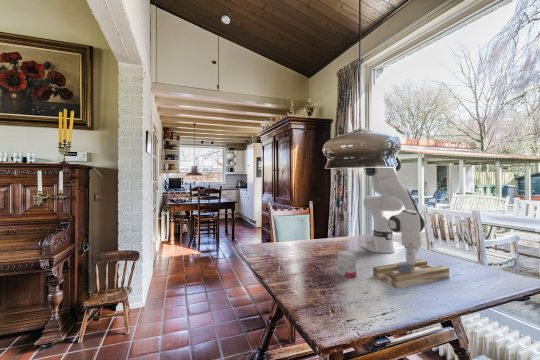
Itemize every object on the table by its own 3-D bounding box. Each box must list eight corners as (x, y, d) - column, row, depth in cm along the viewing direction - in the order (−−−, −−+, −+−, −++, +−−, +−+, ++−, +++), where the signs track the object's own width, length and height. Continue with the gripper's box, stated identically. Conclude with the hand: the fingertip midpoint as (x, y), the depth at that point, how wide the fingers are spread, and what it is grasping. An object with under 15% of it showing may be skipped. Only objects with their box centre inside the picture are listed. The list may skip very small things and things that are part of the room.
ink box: (356, 276, 133) (356, 254, 133) (350, 278, 130) (350, 255, 130) (343, 271, 140) (343, 250, 140) (337, 273, 138) (337, 252, 138)
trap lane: (373, 276, 133) (372, 267, 133) (420, 267, 144) (420, 258, 144) (398, 288, 117) (397, 277, 117) (449, 277, 129) (449, 267, 129)
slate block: (400, 269, 134) (399, 261, 134) (410, 270, 131) (410, 262, 131) (398, 272, 129) (398, 264, 129) (410, 274, 127) (409, 265, 127)
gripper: (417, 246, 120) (418, 276, 119) (419, 238, 137) (420, 264, 136) (402, 245, 123) (403, 274, 123) (406, 237, 140) (407, 263, 140)
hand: (412, 269), depth 130 cm, fingers closed, pressing on slate block
